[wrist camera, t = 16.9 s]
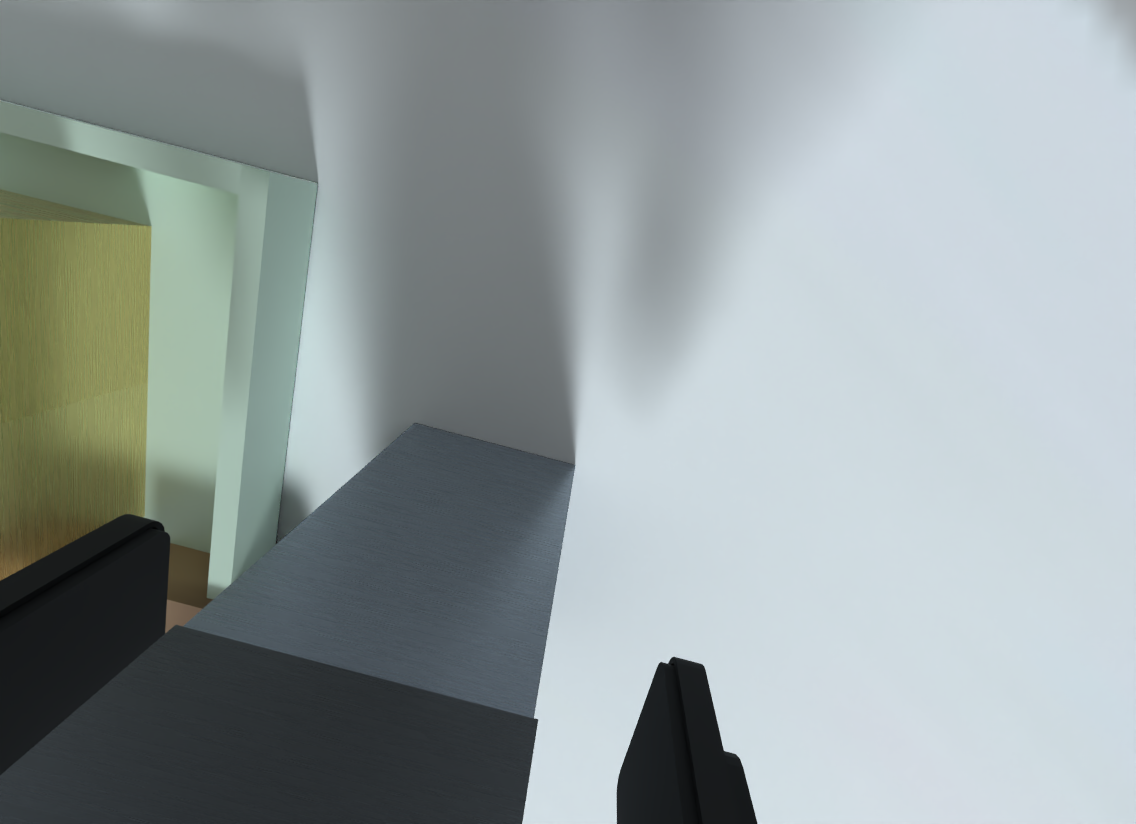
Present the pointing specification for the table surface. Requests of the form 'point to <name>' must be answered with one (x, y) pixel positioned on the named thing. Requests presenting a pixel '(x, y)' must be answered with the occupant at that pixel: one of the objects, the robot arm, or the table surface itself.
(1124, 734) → the table surface
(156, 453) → the tray
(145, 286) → the tan wooden cube
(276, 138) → the table surface
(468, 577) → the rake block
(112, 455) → the olive yellow cube
